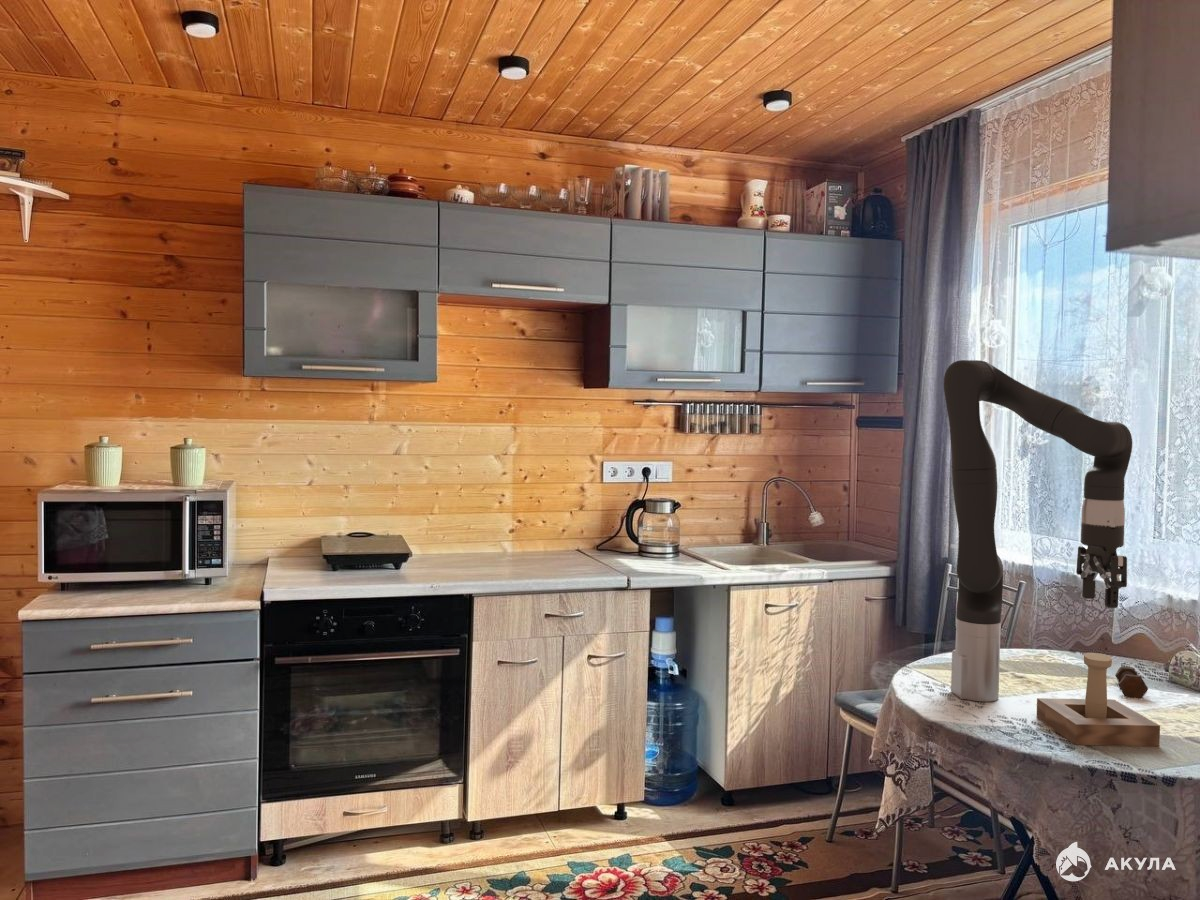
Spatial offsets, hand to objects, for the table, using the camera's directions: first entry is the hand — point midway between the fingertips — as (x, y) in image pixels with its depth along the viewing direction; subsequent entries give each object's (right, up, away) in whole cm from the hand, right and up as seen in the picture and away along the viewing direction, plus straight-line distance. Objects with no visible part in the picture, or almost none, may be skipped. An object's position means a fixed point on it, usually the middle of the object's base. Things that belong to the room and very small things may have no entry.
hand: (1099, 602), depth 182 cm
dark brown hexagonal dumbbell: (+23, -26, +30) cm, 46 cm away
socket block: (0, -26, +1) cm, 26 cm away
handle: (0, -26, +1) cm, 26 cm away
